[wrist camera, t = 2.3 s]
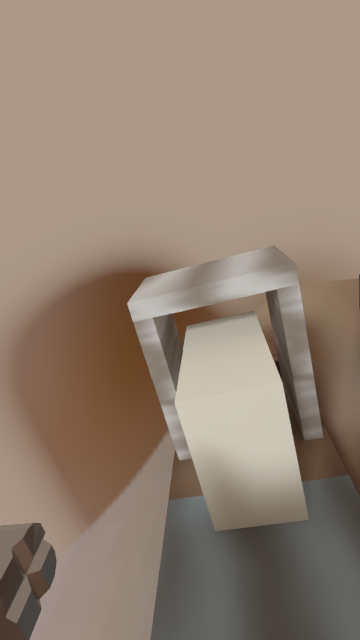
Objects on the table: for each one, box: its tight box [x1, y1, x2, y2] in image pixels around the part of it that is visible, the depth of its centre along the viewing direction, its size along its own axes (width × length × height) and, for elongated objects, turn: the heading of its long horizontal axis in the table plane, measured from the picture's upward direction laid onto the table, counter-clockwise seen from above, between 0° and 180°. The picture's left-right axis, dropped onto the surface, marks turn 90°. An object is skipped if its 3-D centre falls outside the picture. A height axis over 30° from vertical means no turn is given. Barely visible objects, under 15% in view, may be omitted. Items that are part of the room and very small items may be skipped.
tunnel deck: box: [127, 246, 360, 640], centre depth 26 cm, size 13×32×18 cm, turn 177°
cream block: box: [175, 311, 309, 531], centre depth 26 cm, size 6×12×10 cm, turn 177°
